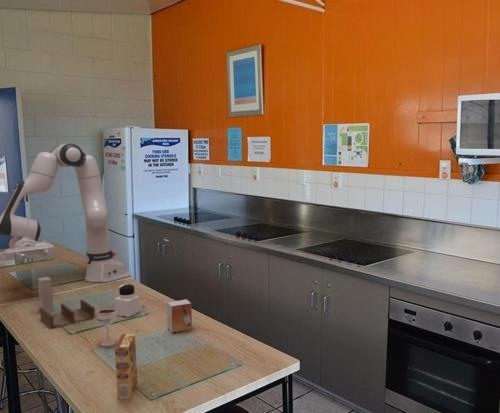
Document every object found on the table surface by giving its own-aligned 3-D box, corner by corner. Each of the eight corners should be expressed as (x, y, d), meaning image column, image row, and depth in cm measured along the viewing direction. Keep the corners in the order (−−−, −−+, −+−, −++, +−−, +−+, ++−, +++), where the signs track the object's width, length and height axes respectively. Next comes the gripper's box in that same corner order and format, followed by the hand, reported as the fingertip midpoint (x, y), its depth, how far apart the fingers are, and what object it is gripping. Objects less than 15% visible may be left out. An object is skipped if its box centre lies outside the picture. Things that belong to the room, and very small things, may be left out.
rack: (83, 309, 201) (82, 299, 200) (95, 318, 191) (94, 307, 190) (40, 319, 190) (40, 308, 189) (50, 328, 180) (50, 317, 179)
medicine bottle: (139, 312, 198) (139, 284, 196) (128, 317, 192) (127, 288, 190) (126, 309, 201) (125, 282, 199) (114, 315, 195) (113, 286, 193)
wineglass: (107, 348, 163) (105, 315, 161) (93, 344, 166) (92, 311, 165) (122, 341, 168) (120, 309, 167) (108, 337, 172) (107, 305, 170)
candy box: (132, 399, 131) (130, 346, 128) (116, 400, 130) (114, 346, 128) (137, 383, 139) (136, 333, 137) (123, 384, 139) (121, 333, 137)
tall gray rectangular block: (49, 308, 202) (47, 276, 200) (53, 311, 198) (51, 279, 196) (39, 310, 200) (37, 278, 198) (43, 313, 196) (41, 280, 194)
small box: (171, 333, 175) (171, 306, 174) (167, 328, 180) (166, 301, 179) (192, 330, 179) (191, 303, 178) (187, 325, 184) (186, 298, 183)
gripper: (0, 245, 209) (8, 251, 198) (48, 240, 222) (58, 244, 211) (1, 259, 210) (8, 266, 199) (49, 253, 223) (59, 258, 212)
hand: (34, 255), depth 205 cm, fingers open, 8 cm apart
